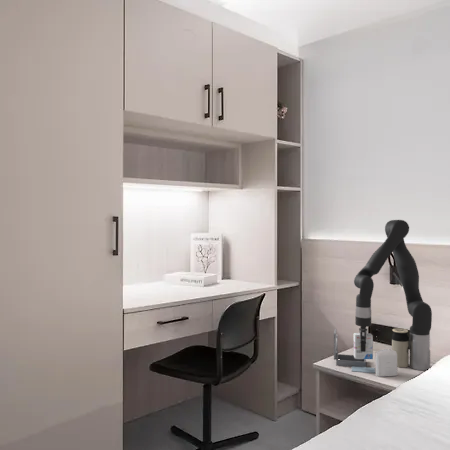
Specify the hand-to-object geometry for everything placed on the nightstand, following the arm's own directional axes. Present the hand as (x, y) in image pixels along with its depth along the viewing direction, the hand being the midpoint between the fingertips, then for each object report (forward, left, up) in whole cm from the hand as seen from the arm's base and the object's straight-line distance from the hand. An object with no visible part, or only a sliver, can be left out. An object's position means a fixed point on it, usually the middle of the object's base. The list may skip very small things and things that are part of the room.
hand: (363, 349), depth 234 cm
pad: (0, 0, -10) cm, 10 cm away
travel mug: (-18, -12, -10) cm, 24 cm away
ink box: (0, 0, -4) cm, 4 cm away
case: (+6, -9, -10) cm, 15 cm away
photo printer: (-11, +5, -10) cm, 16 cm away
